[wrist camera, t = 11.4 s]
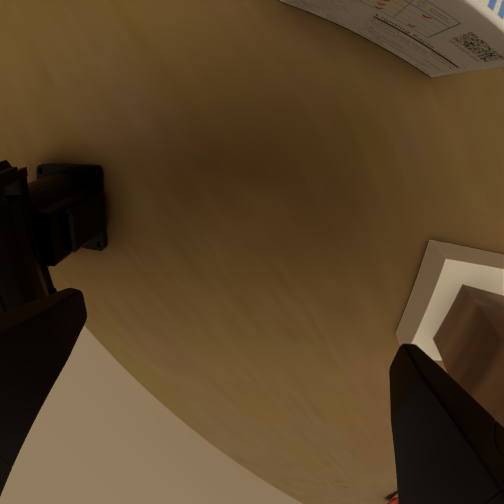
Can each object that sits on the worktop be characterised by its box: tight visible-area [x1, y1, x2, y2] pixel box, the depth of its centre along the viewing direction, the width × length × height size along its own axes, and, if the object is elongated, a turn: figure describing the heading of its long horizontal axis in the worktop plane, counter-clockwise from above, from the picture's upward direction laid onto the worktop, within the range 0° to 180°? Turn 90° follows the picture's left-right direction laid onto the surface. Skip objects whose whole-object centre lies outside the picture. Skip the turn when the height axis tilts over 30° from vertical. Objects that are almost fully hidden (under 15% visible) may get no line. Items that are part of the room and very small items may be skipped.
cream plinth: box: [395, 239, 504, 360], centre depth 19 cm, size 8×8×3 cm
